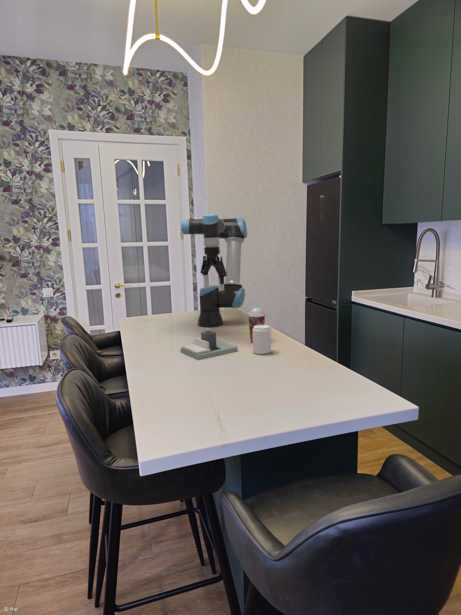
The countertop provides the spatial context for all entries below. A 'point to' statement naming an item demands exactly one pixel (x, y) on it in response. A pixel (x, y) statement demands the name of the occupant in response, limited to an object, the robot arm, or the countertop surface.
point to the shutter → (198, 346)
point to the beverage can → (261, 339)
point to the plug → (209, 338)
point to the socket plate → (221, 349)
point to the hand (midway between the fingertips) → (213, 289)
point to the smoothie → (255, 319)
